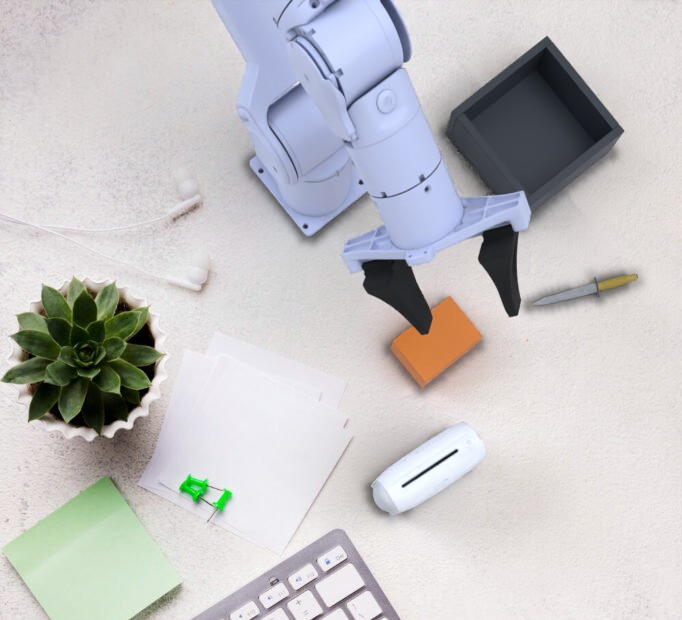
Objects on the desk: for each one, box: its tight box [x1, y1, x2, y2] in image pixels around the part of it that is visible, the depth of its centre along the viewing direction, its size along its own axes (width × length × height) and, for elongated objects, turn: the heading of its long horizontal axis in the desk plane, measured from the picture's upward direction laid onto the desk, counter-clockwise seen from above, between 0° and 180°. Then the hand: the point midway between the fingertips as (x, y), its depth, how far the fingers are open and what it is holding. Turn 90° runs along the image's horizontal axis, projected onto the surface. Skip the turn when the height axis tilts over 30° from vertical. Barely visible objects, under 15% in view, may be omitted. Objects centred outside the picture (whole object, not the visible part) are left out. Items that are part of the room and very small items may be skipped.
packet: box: [389, 295, 483, 389], centre depth 82 cm, size 5×7×4 cm
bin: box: [445, 35, 625, 215], centre depth 82 cm, size 12×12×5 cm
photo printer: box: [370, 421, 488, 516], centre depth 78 cm, size 10×4×12 cm, turn 123°
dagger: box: [531, 273, 639, 306], centre depth 84 cm, size 11×1×2 cm
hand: (470, 317), depth 69 cm, fingers open, 7 cm apart
